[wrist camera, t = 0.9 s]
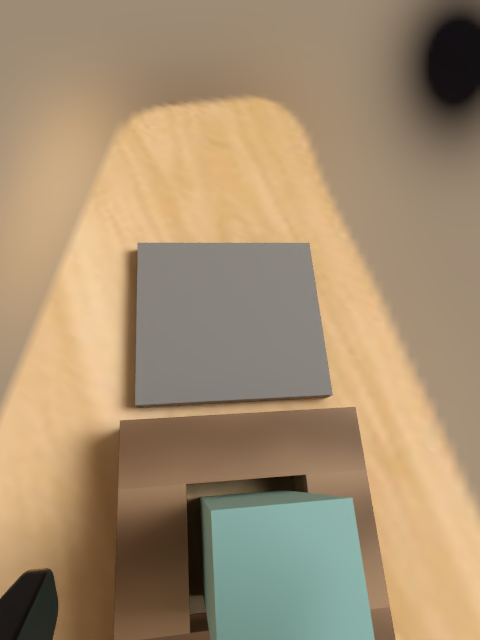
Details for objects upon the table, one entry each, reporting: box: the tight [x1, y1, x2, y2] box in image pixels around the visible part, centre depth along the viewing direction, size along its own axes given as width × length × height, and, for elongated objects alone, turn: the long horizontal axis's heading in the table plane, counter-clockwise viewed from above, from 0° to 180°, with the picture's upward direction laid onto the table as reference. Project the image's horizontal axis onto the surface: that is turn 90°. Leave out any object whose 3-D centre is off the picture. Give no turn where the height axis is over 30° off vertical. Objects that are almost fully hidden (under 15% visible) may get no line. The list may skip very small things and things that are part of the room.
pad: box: [135, 243, 333, 408], centre depth 25 cm, size 10×11×1 cm
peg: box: [200, 490, 375, 640], centre depth 16 cm, size 4×4×10 cm
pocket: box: [114, 407, 395, 640], centre depth 20 cm, size 12×12×2 cm
